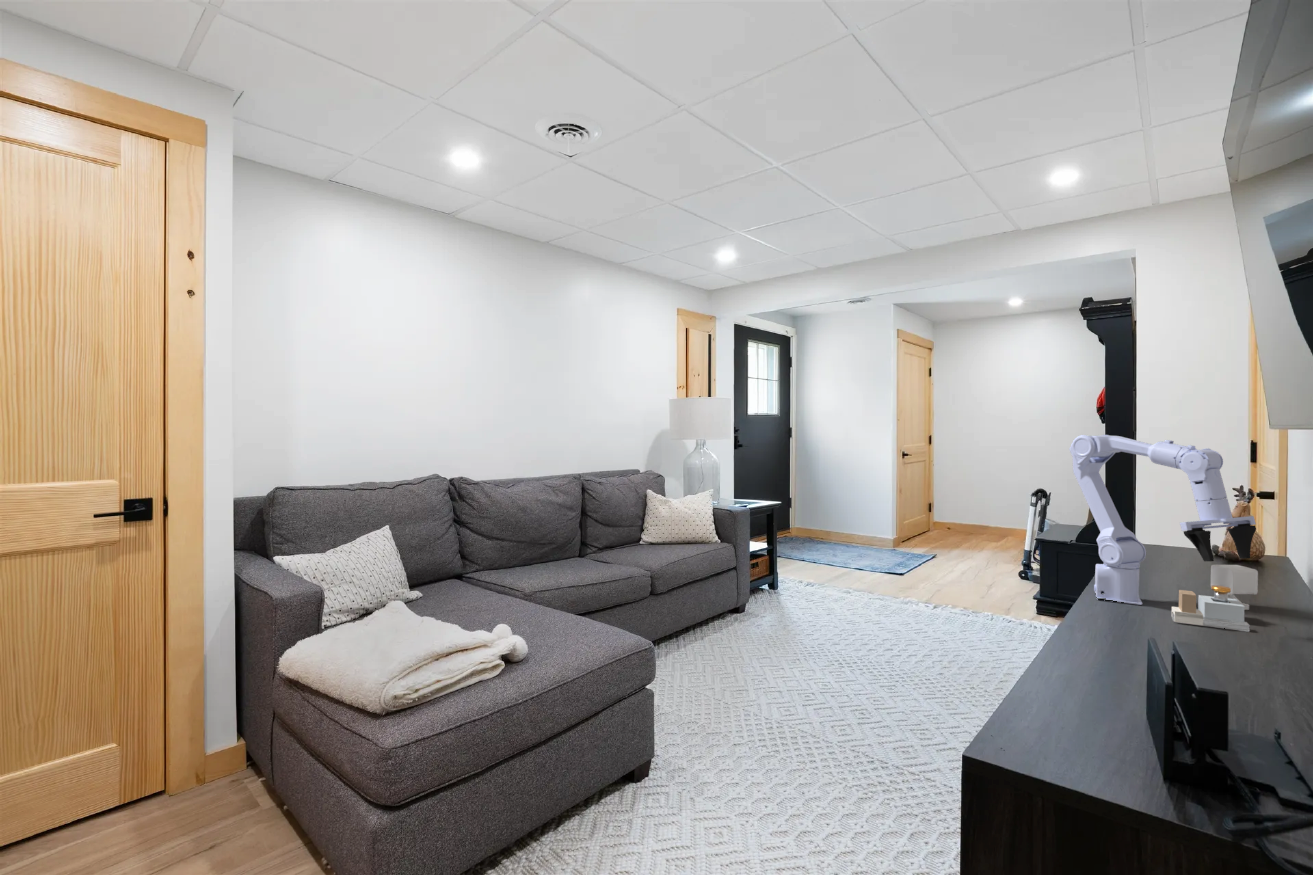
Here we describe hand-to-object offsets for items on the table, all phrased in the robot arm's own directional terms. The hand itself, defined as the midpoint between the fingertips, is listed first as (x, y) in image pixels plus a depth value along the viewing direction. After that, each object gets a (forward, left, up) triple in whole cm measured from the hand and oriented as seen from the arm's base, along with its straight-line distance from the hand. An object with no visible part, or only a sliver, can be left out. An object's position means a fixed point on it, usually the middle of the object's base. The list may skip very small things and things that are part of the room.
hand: (1226, 559), depth 142 cm
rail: (-3, -1, -15) cm, 16 cm away
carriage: (-7, -1, -15) cm, 17 cm away
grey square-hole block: (+1, +8, -15) cm, 17 cm away
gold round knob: (+1, +8, -12) cm, 15 cm away
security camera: (+5, +21, -16) cm, 27 cm away
